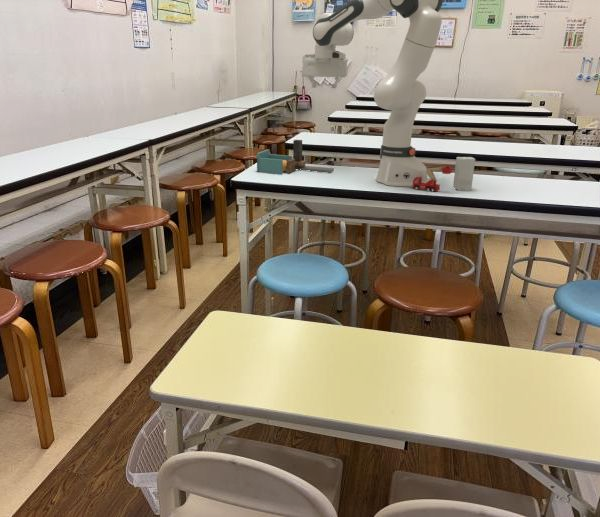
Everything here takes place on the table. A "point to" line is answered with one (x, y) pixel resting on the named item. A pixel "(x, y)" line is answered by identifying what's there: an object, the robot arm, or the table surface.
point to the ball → (284, 165)
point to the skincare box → (464, 172)
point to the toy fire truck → (432, 183)
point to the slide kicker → (296, 157)
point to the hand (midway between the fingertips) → (324, 87)
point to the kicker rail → (315, 169)
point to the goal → (270, 162)
